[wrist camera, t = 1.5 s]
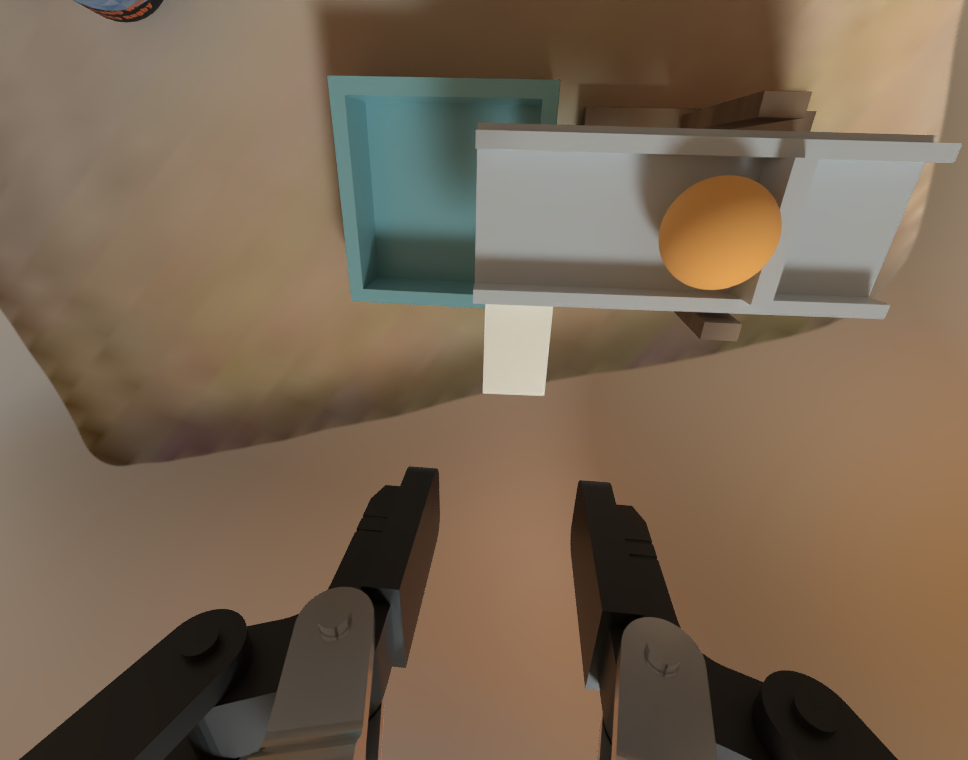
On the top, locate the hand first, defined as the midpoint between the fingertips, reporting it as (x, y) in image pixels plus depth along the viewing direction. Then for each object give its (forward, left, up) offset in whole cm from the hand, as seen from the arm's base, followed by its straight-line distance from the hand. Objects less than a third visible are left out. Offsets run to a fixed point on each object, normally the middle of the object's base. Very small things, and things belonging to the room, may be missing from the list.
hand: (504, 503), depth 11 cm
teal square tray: (-6, -4, -21) cm, 22 cm away
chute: (-3, +6, -19) cm, 20 cm away
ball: (-6, +7, -9) cm, 13 cm away
